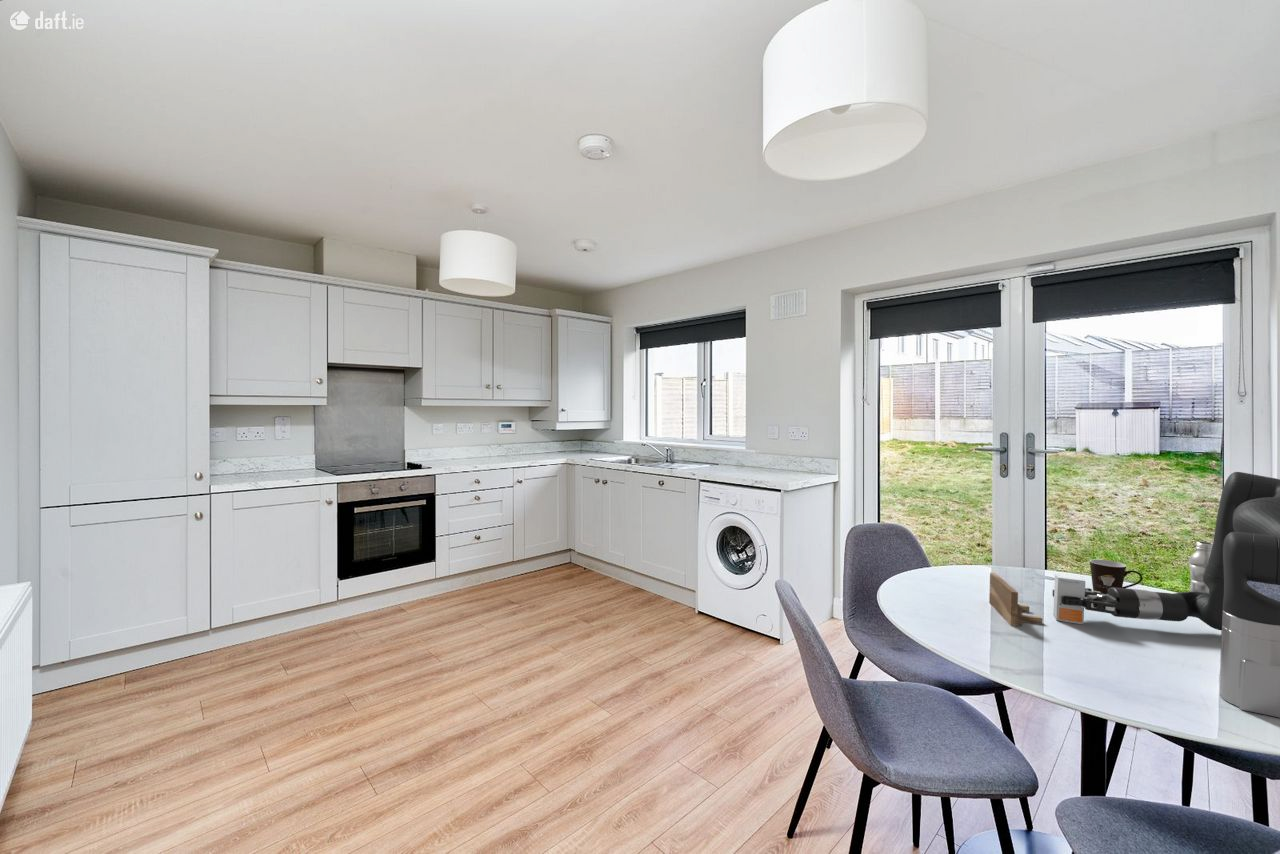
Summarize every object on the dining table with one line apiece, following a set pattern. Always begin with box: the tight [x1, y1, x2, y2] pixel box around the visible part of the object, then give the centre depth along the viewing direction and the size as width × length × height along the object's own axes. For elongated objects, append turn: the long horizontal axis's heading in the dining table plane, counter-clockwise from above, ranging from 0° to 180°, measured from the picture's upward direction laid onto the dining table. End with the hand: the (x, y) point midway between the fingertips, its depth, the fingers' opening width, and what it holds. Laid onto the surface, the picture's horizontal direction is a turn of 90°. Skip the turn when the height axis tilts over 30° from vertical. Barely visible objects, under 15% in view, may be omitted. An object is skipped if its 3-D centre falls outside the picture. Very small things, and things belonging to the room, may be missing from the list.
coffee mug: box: [1089, 558, 1144, 594], centre depth 167 cm, size 12×9×10 cm
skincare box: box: [1052, 573, 1086, 625], centre depth 148 cm, size 6×4×12 cm
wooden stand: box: [988, 572, 1043, 627], centre depth 151 cm, size 8×18×9 cm, turn 163°
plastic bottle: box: [1187, 541, 1213, 593], centre depth 153 cm, size 6×7×20 cm
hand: (1057, 596), depth 148 cm, fingers closed on skincare box, 5 cm apart
